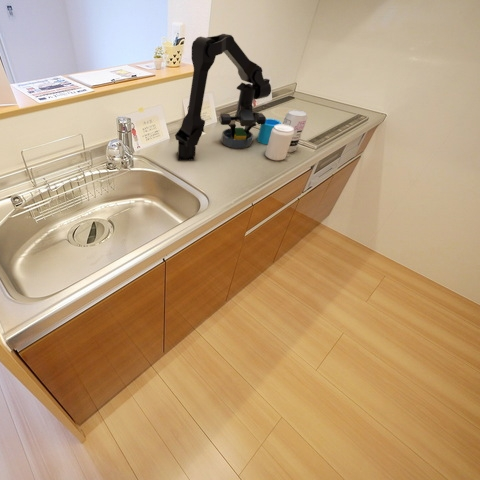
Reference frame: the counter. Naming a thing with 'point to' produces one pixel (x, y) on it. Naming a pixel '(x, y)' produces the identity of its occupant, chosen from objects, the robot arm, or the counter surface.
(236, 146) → the bowl
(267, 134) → the mug
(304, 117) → the supplement can
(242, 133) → the sponge
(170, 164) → the counter surface
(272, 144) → the beverage can
